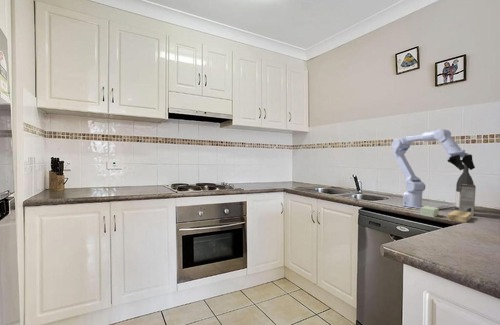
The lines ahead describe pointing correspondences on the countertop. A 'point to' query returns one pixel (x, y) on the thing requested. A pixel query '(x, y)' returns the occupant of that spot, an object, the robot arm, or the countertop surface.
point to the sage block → (429, 211)
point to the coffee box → (467, 198)
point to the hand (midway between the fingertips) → (467, 169)
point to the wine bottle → (463, 179)
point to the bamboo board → (459, 216)
